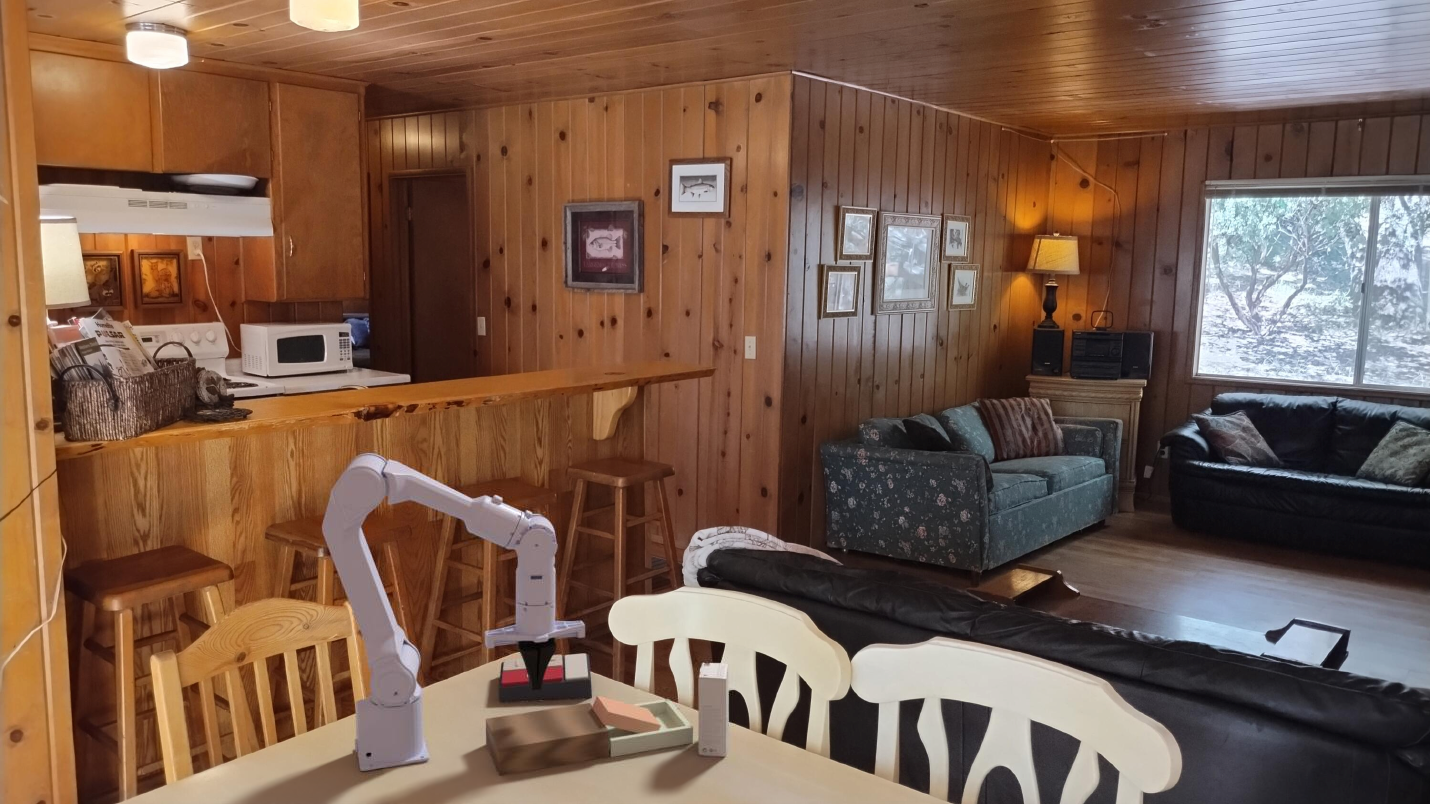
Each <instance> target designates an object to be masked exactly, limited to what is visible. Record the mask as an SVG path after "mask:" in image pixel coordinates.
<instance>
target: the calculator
mask: <svg viewBox="0 0 1430 804" xmlns="http://www.w3.org/2000/svg"><path fill="white" fill-rule="evenodd" d="M590 665H591V662H590V655H589V654H588V653H587V654H586V653H574V654H565V655H563V654H554V655H553V656H552V658H551V660H550V662H549V664H548V666H547V669H546V672H545V675H544V678H543V682H542V688H541V689H540V690H532V689H531V688H530V686H529V678H528V674H527V670H526V666H525V663H524V661H523V658H522V657H519V658H509V659H508V658H507V659H504V660H503V661H502V662H501V663H500V670H499V671H500V672H499V680H498V695H499V696H498V699H499V703H500V702H501V703H503V704H504V703H506V702H508V703H522V702H521V701H528V702H543V700H544V701H551V700H552V701H553V700H562V699H563V700H566V701H567V699H569V701H570V700H586V699H592V698H593V689H592V688H593V687H592V676H591V675H592V674H591V666H590ZM540 700H542V701H540Z"/></svg>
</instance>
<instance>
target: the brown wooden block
mask: <svg viewBox="0 0 1430 804" xmlns="http://www.w3.org/2000/svg"><path fill="white" fill-rule="evenodd" d="M592 706H593V704H592V703H591V702H588V703H587V702H586V703H581V704H579V703H578V704H575V705H574V704H573V705H568V706H567V705H566V706H562V707H554V708H548V709H542V710H536V711H535V710H534V711H527V712H523V713H514V714H510V715H503V716H496V717H489V718H485V744H486V745H485V746H486V747H487V749H488V753H489V754H490V757H491V760H492V762H493V764H494V766H495V769H496V772H497V774H498V776H505V775H511V774H515V773H523V772H529V771H534V770H539V769H545V768H550V767H551V768H552V767H556V766H563V765H567V764H573V763H579V762H586V761H591V760H595V759H601V758H608V757H609V756H610V754H609V730H608V729H607V727H606V726H605V725H604V724H603V723H602V722H601V720H600V719H599V717H598V716H597V714H596V713H595V711H594V710H593V708H592Z"/></svg>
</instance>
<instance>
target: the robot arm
mask: <svg viewBox="0 0 1430 804" xmlns="http://www.w3.org/2000/svg"><path fill="white" fill-rule="evenodd" d="M329 496H330V497H329V500H328V503H327V507H326V511H325V514H324V518H323V521H322V523H321V524H322V525H321V531H322V535H323V537H324V540H325V543H326V544H327V548H328V550H329V553H330V556H331V559H332V560H333V561H332V562H333V563H334V566H335V568H336V571H337V573H338V576H339V579H340V582H341V584H342V587H343V589H344V592H345V594H346V597H347V600H348V603H349V604H350V607H351V610H352V612H353V615H354V617H355V620H356V623H357V626H358V628H359V630H360V633H361V636H362V639H363V642H364V643H365V653H366V662H367V666H368V669H369V671H370V681H369V691H370V695H369V696H367V697H364V698H362V699H359V700H356V701H355V731H356V735H355V736H356V738H355V739H354V748H355V752H356V753H357V757H358V764H359V770H360V772H361V771H362V772H365V771H366V772H367V771H372V770H377V769H383V768H390V767H396V766H402V765H403V766H404V765H408V764H414V763H419V762H427V761H429V760H430V754H429V750H428V748H427V744H426V740H425V737H424V722H423V721H424V717H423V716H424V715H423V712H424V711H423V706H424V705H423V688H422V687H421V685H419V683H418V681H417V677H418V672H419V669H420V666H421V661H422V660H421V655H420V652H419V650H418V648H417V647H416V646H415V645H414V644H412V643H411V642H410V641H409V640H408V638H407V637H406V633H405V631H404V629H403V628H402V627H400V625H398V622H397V619H396V617H395V614H394V611H393V609H392V606H391V604H390V601H389V598H388V596H387V593H386V591H385V588H384V585H383V583H382V580H381V576H380V575H379V574H380V573H379V572H378V569H377V567H376V564H375V562H374V558H373V556H372V553H371V550H370V548H369V545H368V543H367V542H368V541H366V540H367V539H366V537H365V534H364V532H363V529H362V525H363V523H364V521H366V518H367V516H368V515H369V514H370V513H371V512H373V510H375V508H377V507H378V506H379V505H380V504H381V503H382V502H383V500H384V498H385V497H388V499H387V505H388V506H389V505H395V504H398V503H399V504H400V503H403V502H408V501H413V502H416V503H417V504H421V505H424V506H426V507H428V508H431V509H434V510H435V511H436V510H437V511H438V512H442V513H445V514H447V515H448V516H452V517H454V518H457V519H460V520H462V521H463V522H464V524H465V528H466V530H467V532H468V533H470V534H473V535H475V536H477V537H479V538H482V539H483V540H484V539H485V540H486V541H489V542H491V543H494V544H495V545H498V546H499V547H502V548H505V549H507V550H514V551H515V553H516V554H517V568H516V569H515V624H513V625H509V626H506V627H502V628H496V629H492V630H485V631H484V645H485V647H486V649H494V648H495V647H498V646H506V645H514V644H516V646H517V649H518V651H519V653H520V655H521V658H523V661H524V663H525V666H526V670H527V674H528V678H529V686H530V688H531V689H532V690H540V689H541V688H542V682H543V678H544V675H545V672H546V669H547V666H548V664H549V662H550V660H551V658H552V656H553V655H555V653H556V651H557V644H556V642H555V639H565V638H576V637H577V638H578V639H581V638H585V637H586V625H585V623H584V622H583V621H582V620H575V621H574V620H573V621H571V620H570V621H569V620H568V621H567V620H566V621H565V620H556V568H555V564H556V557H555V555H556V553H557V552H558V547H559V544H558V543H557V537H556V532H555V528H554V526H553V524H552V523H551V521H550V520H548V519H547V518H546V517H545V516H544V515H542V514H540V513H533V512H532V511H530V510H527V509H526V510H525V511H522V510H519V509H518V508H515V507H513V506H511V505H509V504H507V503H504V502H503V497H502V496H499V495H497V494H494V495H493V497H490V496H489V495H482V496H479V497H476V498H475V497H474V498H472V497H469V496H468V495H466V494H463V493H461V492H459V491H458V490H455V489H453V488H451V487H449V486H448V485H445V484H443V483H441V482H439V481H438V480H435V479H433V478H431V477H429V476H428V475H425V474H423V473H422V472H419V471H417V470H416V469H414V468H411V467H409V466H407V465H404V464H403V463H401V462H400V461H396V460H393V459H388V460H386V458H385V457H383V456H382V455H379V454H376V453H372V452H371V453H370V452H366V453H362V454H358V455H357V456H355V457H354V458H353V459H351V461H350V462H349V463H348V465H347V466H346V468H345V469H344V471H343V472H342V473H341V474H340V476H339V477H338V480H337V481H336V482H335V484H334V485H333V487H332V488H331V490H330V495H329Z"/></svg>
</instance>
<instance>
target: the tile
mask: <svg viewBox="0 0 1430 804" xmlns="http://www.w3.org/2000/svg"><path fill="white" fill-rule="evenodd" d="M592 708H593V710H594V711H595V713H596V714H597V716H598V717H599V719H600V720H601V722H602V723H603V724H604V725H608V726H612V727H616V728H620V729H624V730H628V731H632V732H636V733H646V732H652V731H658V730H659V729H660V727H661V725H660V723H659V722H658V721H657V719H656V718H655V717H654V716H653V714H652V713H651V712H650V711H649V709H647V708H643V707H639V706H635V705H632V704H630V703H627V702H623V701H620V700H616V699H612V698H607V697H604V696H601V695H596V697H595V700H594V702H593V704H592Z"/></svg>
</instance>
